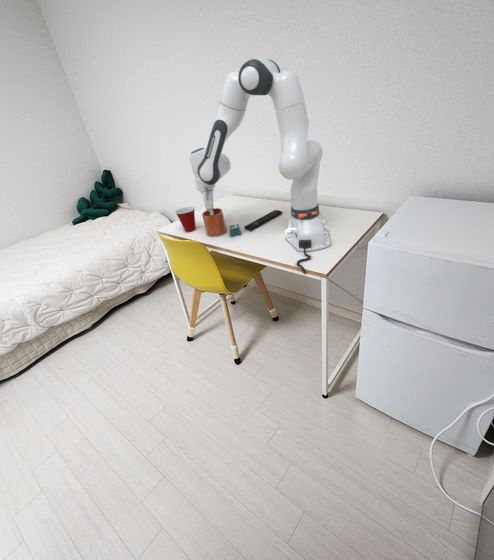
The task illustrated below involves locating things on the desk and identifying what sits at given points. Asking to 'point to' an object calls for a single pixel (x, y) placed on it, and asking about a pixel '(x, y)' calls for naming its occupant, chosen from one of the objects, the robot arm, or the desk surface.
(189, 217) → the plastic cup
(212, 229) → the terracotta cup
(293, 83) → the robot arm
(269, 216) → the remote control
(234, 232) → the teal block
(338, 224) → the desk surface
